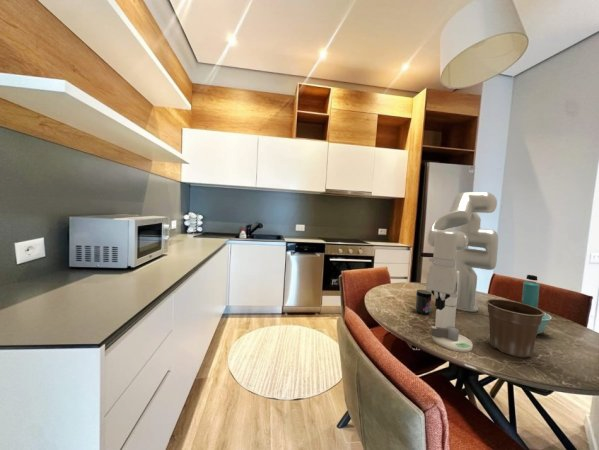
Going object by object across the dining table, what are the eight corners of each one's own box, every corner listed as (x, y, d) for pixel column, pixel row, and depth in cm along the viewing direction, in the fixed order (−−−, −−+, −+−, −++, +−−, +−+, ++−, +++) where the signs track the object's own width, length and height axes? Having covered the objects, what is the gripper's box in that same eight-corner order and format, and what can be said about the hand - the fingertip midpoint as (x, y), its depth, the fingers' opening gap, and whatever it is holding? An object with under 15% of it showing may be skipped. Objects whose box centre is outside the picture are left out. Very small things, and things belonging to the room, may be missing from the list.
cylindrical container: (451, 326, 110) (456, 269, 108) (456, 333, 103) (461, 273, 101) (433, 323, 112) (438, 267, 111) (436, 329, 105) (441, 271, 104)
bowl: (539, 342, 99) (542, 321, 99) (494, 325, 113) (495, 307, 112) (556, 334, 106) (558, 315, 106) (511, 319, 120) (513, 302, 120)
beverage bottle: (540, 317, 125) (544, 277, 124) (525, 315, 127) (529, 276, 126) (531, 311, 132) (535, 274, 131) (516, 310, 133) (520, 273, 132)
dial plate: (427, 340, 96) (427, 336, 95) (439, 330, 104) (439, 327, 104) (466, 356, 86) (467, 351, 86) (476, 344, 95) (476, 339, 95)
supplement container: (420, 315, 120) (422, 294, 119) (412, 309, 127) (413, 289, 126) (433, 315, 121) (435, 294, 120) (424, 309, 128) (425, 289, 127)
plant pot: (477, 334, 103) (481, 295, 102) (527, 343, 97) (531, 303, 96) (490, 354, 88) (494, 309, 87) (549, 367, 82) (555, 319, 81)
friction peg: (455, 335, 97) (455, 327, 97) (460, 341, 93) (461, 331, 93) (429, 333, 98) (429, 324, 98) (433, 338, 94) (433, 329, 94)
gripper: (420, 260, 101) (416, 304, 102) (463, 267, 90) (458, 317, 91) (427, 258, 106) (423, 301, 107) (468, 265, 95) (464, 313, 96)
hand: (439, 308), depth 99 cm, fingers closed
